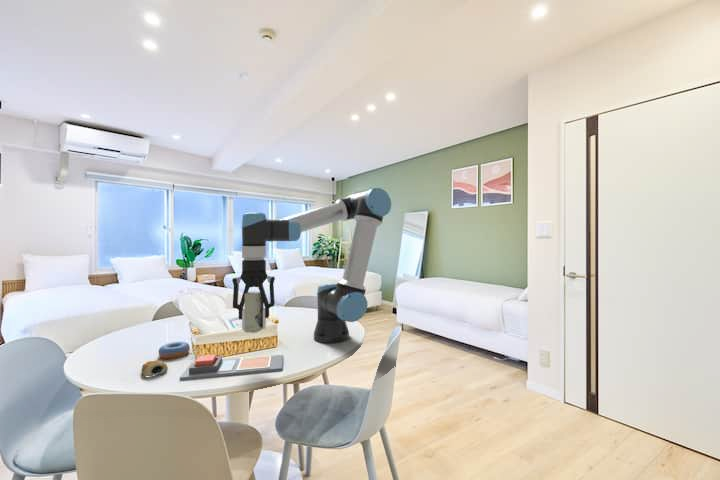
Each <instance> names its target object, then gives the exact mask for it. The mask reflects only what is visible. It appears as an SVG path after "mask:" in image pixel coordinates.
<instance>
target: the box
mask: <svg viewBox="0 0 720 480" xmlns="http://www.w3.org/2000/svg"><path fill="white" fill-rule="evenodd" d="M263 308H264V303H263V300H262V296H261V293H260V291H255V290H254V291H248V293H246V294H245V303H244V309H245V325H244V330H243V331H244V333H249V334H250V333H253V334H255V333H256V334H257V333H258V332H260V331H263V330H264V329H263Z"/></svg>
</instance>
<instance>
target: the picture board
mask: <svg viewBox="0 0 720 480" xmlns="http://www.w3.org/2000/svg"><path fill="white" fill-rule="evenodd" d="M283 357H284V354H276V355H275V354H273V355H265V356H253V357H252V356H251V357H241V358H240V357H239V358H238V357H237V358H229V359H228V358H227V359H223V356H216V362H215V363H214V365H208V366H196V360H197V359H198V358H196V359H195V360H194V361H193V362H191V363H190V364H189V365H188V366H187V368H186V369H185V370H184V371H183V373H182V374H181V375H180V377H179V381H184V380H185V381H186V380H196V379H208V378H216V377H217V378H218V377H228V376H238V375H248V374H249V375H250V374H259V373H267V372H268V373H269V372H280V371H283V359H284V358H283Z"/></svg>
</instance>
